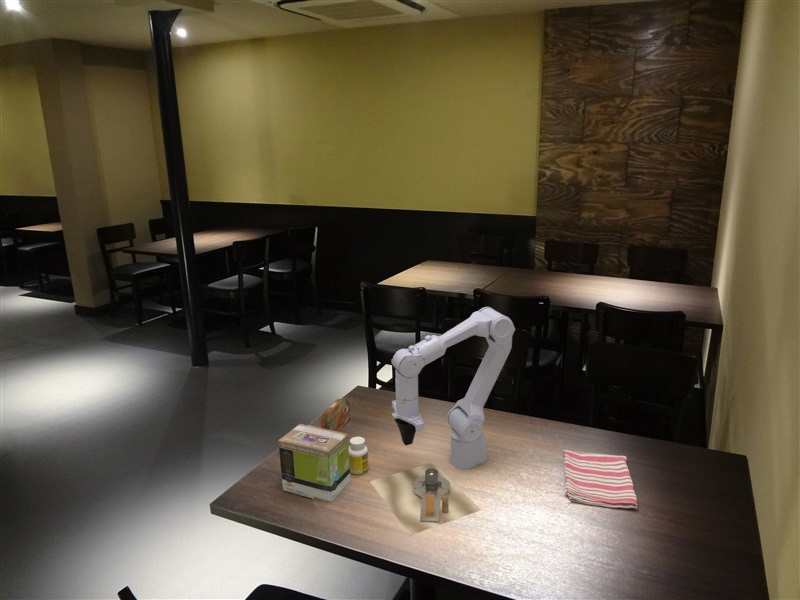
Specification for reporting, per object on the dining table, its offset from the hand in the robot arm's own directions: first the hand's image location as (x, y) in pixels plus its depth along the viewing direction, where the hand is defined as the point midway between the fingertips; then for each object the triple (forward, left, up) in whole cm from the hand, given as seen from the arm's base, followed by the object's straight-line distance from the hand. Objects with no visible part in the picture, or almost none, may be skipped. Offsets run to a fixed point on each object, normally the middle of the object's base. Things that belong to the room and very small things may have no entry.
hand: (407, 443), depth 145 cm
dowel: (-1, +18, -10) cm, 20 cm away
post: (-2, +9, -10) cm, 14 cm away
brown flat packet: (+8, -33, -10) cm, 36 cm away
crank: (0, +12, -9) cm, 15 cm away
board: (+1, +10, -10) cm, 14 cm away
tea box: (+23, -7, -10) cm, 26 cm away
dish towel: (-43, +24, -11) cm, 50 cm away
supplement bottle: (+11, -8, -10) cm, 17 cm away
